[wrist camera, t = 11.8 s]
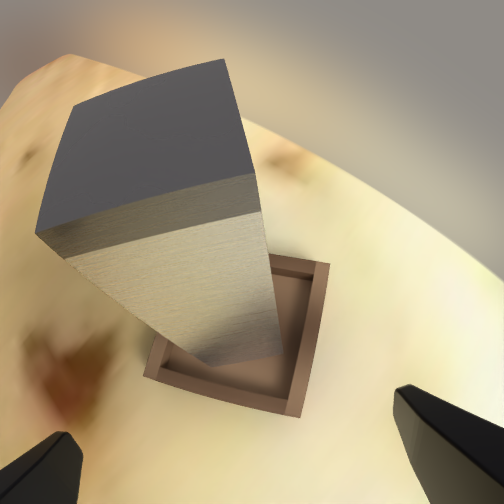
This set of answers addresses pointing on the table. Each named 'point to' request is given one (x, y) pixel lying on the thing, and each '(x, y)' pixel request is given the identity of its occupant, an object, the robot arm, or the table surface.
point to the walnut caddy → (265, 369)
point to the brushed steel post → (168, 212)
